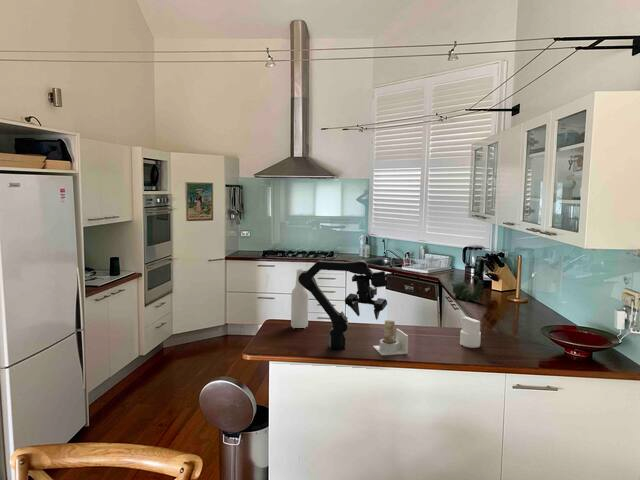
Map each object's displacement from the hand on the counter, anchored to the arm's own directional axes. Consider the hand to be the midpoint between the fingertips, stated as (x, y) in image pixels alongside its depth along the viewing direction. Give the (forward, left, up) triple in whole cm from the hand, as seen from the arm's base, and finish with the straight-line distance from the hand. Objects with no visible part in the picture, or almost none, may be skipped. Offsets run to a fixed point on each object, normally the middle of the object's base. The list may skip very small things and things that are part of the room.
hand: (367, 317), depth 206 cm
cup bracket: (+7, -9, -13) cm, 17 cm away
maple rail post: (+7, -9, -12) cm, 17 cm away
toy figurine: (+98, +77, -13) cm, 125 cm away
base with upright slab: (+48, -8, -13) cm, 51 cm away
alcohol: (-25, +34, -13) cm, 44 cm away
